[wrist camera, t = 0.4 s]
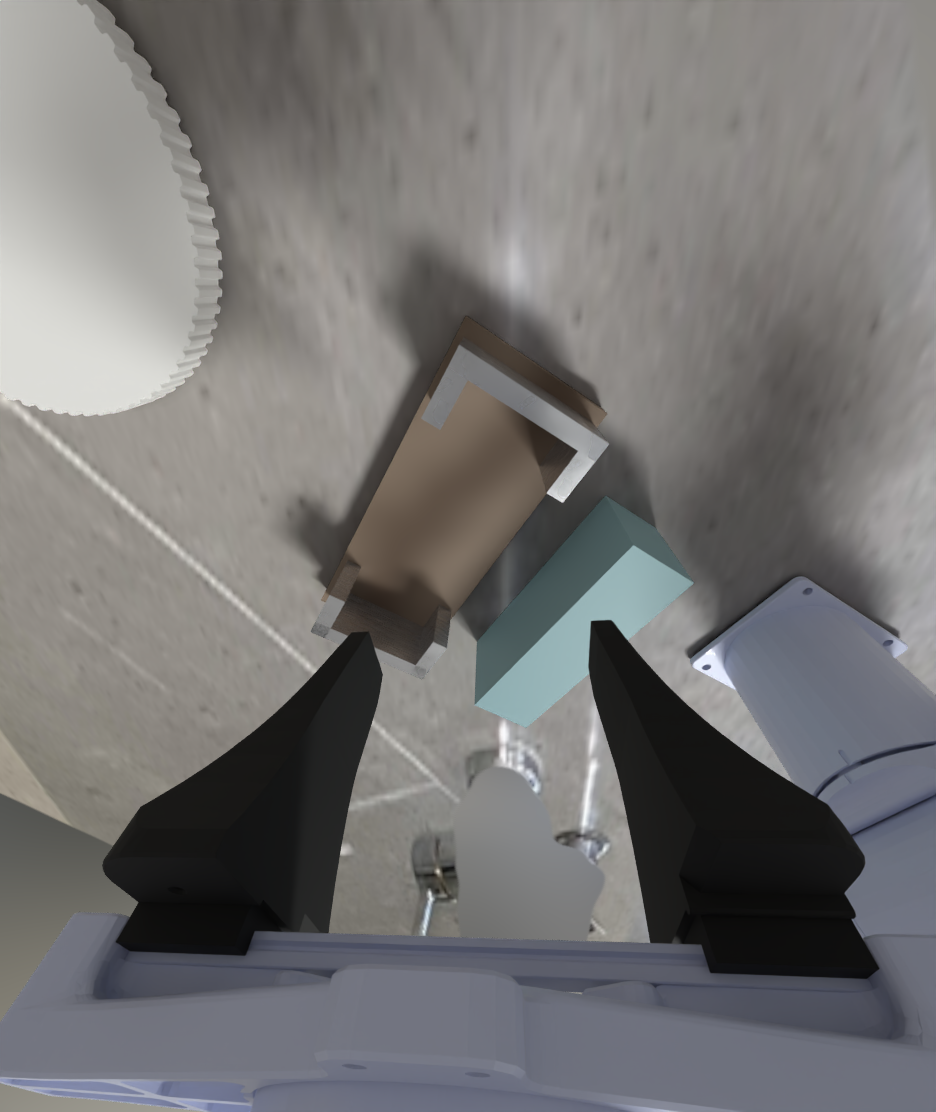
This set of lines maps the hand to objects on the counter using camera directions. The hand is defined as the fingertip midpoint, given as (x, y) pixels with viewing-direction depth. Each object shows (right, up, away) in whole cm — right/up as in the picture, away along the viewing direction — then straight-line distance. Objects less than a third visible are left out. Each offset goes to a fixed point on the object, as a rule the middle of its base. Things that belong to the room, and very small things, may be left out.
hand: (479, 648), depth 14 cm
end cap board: (-2, +5, +8) cm, 10 cm away
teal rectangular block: (+5, +1, +11) cm, 12 cm away
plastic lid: (-16, +16, +2) cm, 23 cm away
